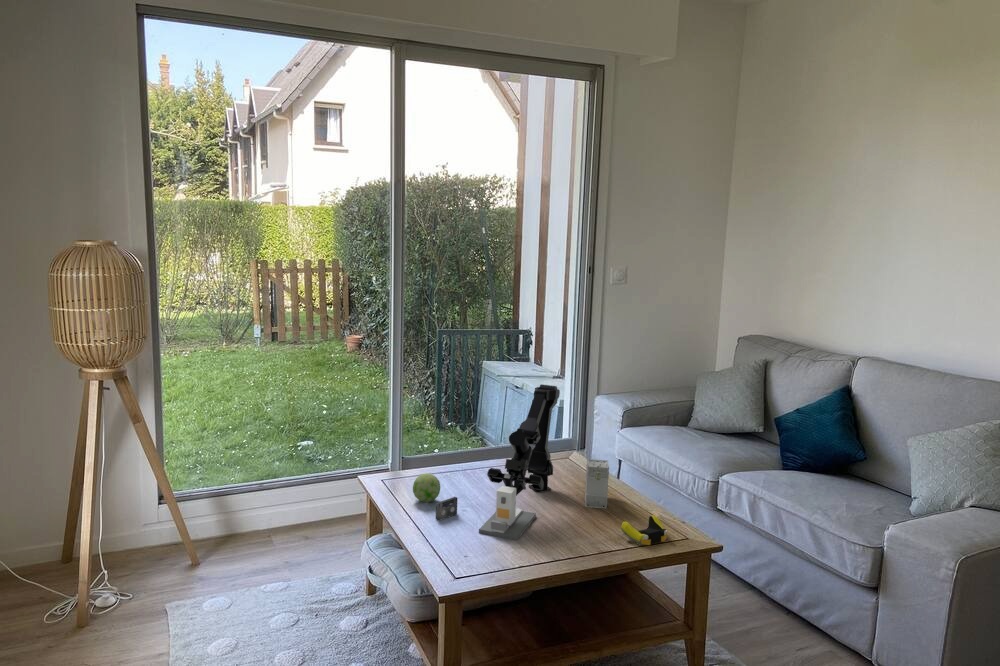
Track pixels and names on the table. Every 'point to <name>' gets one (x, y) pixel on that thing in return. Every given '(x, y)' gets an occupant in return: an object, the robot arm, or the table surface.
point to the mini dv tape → (446, 508)
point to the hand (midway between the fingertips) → (508, 502)
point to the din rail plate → (503, 529)
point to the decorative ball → (426, 487)
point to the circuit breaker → (596, 483)
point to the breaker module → (506, 505)
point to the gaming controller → (646, 532)
